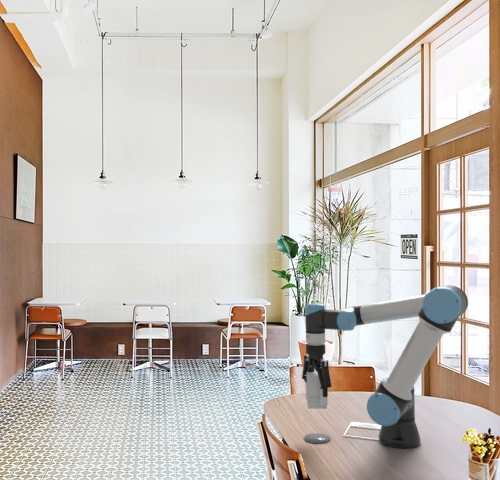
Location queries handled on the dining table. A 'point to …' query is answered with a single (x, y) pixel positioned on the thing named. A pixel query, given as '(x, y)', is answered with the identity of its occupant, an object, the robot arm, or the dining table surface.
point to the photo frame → (362, 425)
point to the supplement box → (313, 391)
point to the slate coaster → (317, 438)
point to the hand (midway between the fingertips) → (316, 401)
